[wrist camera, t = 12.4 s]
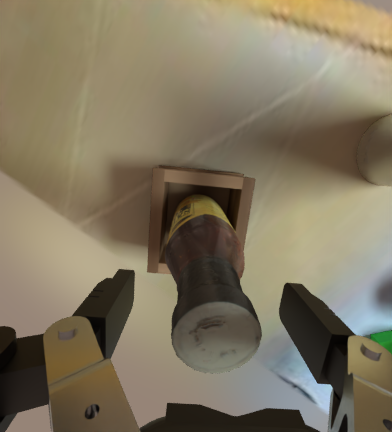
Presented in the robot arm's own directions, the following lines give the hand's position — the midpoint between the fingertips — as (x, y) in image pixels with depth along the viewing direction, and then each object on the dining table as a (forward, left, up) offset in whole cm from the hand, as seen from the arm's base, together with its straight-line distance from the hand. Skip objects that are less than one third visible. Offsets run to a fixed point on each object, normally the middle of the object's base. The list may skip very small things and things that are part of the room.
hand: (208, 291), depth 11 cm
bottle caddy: (0, 0, -19) cm, 19 cm away
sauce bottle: (0, 0, -18) cm, 18 cm away
